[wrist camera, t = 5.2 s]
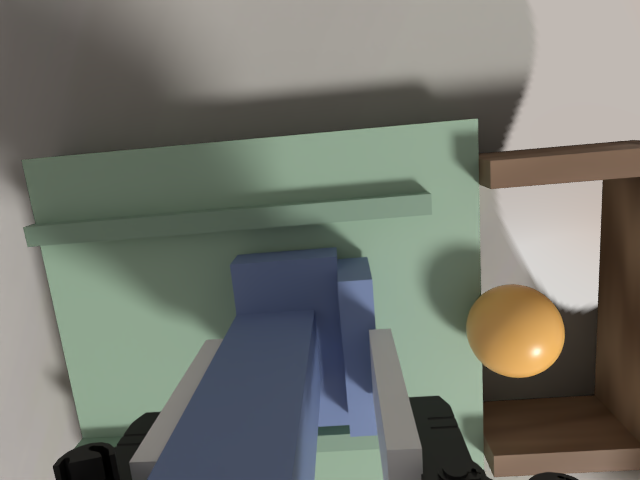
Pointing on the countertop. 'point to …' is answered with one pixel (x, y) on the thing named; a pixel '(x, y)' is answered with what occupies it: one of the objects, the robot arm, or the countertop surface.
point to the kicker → (280, 371)
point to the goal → (612, 326)
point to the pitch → (260, 237)
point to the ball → (515, 331)
